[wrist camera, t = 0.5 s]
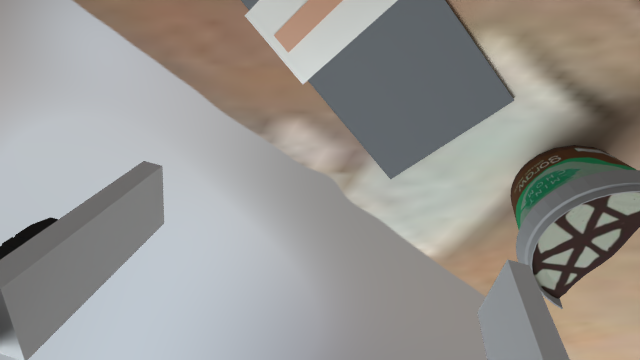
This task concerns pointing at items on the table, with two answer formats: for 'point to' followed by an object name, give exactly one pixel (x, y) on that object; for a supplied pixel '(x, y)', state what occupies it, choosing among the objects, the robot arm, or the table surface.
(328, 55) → the white rectangular block
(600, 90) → the table surface
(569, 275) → the food container
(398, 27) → the mat
